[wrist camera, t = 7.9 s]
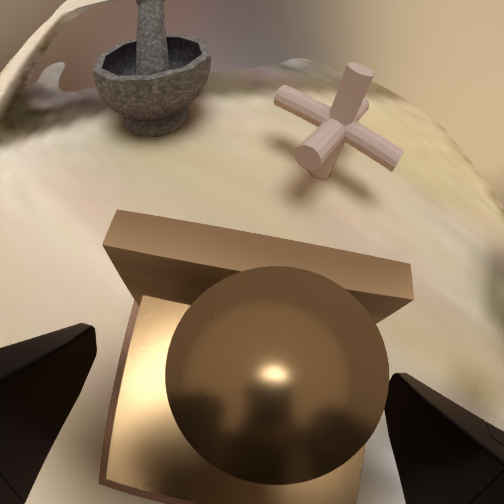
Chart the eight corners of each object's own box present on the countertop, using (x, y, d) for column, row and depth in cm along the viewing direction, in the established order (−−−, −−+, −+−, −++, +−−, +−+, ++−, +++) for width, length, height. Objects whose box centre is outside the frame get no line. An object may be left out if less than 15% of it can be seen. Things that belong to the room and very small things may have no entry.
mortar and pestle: (213, 142, 24) (225, 8, 14) (104, 159, 22) (74, 28, 12) (196, 80, 29) (202, -18, 19) (113, 92, 27) (101, -6, 17)
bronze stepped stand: (316, 509, 12) (418, 577, 3) (105, 479, 12) (5, 532, 3) (336, 323, 18) (437, 238, 9) (143, 289, 18) (92, 172, 9)
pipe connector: (347, 244, 21) (418, 142, 13) (234, 173, 23) (251, 55, 14) (385, 172, 26) (435, 89, 17) (296, 119, 28) (322, 30, 19)
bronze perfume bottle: (273, 454, 13) (435, 542, 2) (165, 438, 13) (39, 516, 2) (284, 376, 15) (451, 283, 4) (180, 358, 15) (106, 219, 4)
